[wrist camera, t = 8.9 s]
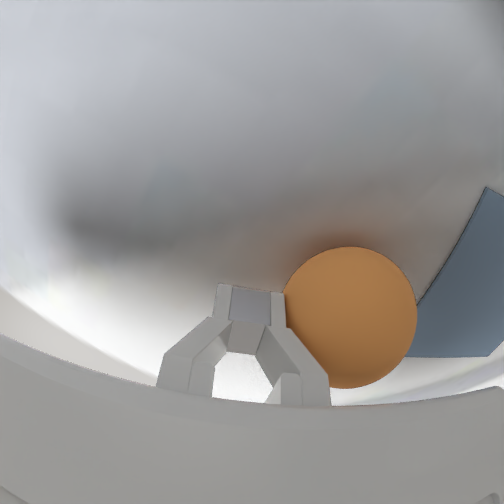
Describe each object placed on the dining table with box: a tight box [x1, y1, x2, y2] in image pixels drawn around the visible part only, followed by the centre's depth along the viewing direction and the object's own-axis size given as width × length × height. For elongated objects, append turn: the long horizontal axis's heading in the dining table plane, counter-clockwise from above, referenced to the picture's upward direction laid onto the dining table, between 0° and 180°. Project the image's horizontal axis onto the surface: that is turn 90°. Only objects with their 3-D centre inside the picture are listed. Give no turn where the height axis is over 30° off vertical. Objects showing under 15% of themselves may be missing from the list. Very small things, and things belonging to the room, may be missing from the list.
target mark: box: [404, 187, 504, 358], centre depth 13 cm, size 12×12×1 cm
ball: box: [283, 247, 417, 389], centre depth 11 cm, size 6×6×6 cm
